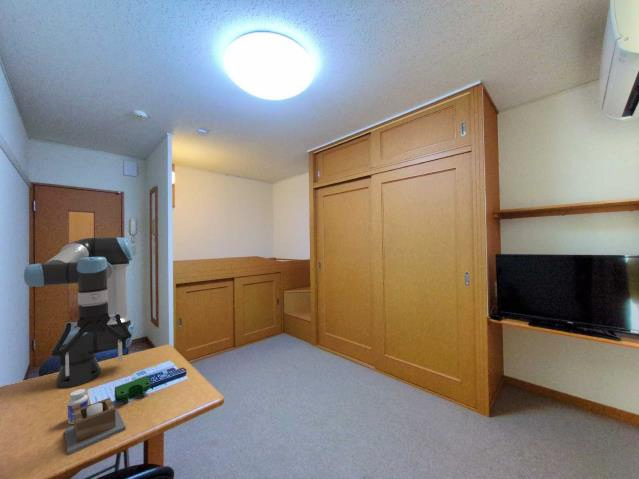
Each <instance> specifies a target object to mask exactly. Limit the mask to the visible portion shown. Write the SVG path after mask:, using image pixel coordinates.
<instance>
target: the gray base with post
mask: <svg viewBox="0 0 639 479" xmlns="http://www.w3.org/2000/svg"><path fill="white" fill-rule="evenodd" d="M95 403H96V402H95ZM92 404H93V403H92ZM90 405H91V404H90ZM100 412H103V410H102V403H96V404H93V405H91V406H89V407H88V408H87V417H90V416H92V415H95V414H97V413H100ZM115 420H116V427H114V428H112V429H109V430H107V431H105V432H102V433H100V434H98V435H95V436H93V437H91V438H88V439H86V440H84V441H81V442H79V443H77V439H76V434H75V429H74V424H72V425H71V426H69V427H66V428H64V436H65V444H66V451H67V455H68V456H70V455H72V454H74V453H76V452H78V451H80V450H82V449H85V448H87V447H89V446H92V445H94V444H97V443H99V442H101V441H103V440H105V439H107V438H110V437H112V436H115V435H116V434H119V433H121V432H123V431H125V430H126V427H127V426H126V424H125V422H124V420H123V419H122V417H121V414H120V412H119V410H118V408H115Z"/></svg>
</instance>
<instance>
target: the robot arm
mask: <svg viewBox="0 0 639 479" xmlns="http://www.w3.org/2000/svg"><path fill="white" fill-rule="evenodd" d="M133 260H134V257H133V250H132V246H131V240H130V239H129V238H127V237H118V236H117V237H87V238H82V239H78V240H75V241H71V242H69V243H67V244H65V245H64V246H63V247H61V249H60V251H59V252H58V253H57V254H56V255H54V256H53V257H52V258H50V259H49V260H47V261H46V262H45V263H44V262H43V263H40V262H39V263H34V264H33V263H32V264H28V265H27V266H26V267H25V269H24V270H23V271H24V272H23V279H24V283H25V285H26V286H28V287H46V286H47V287H49V286H59V285H71V284H77V304H78V319H77V321H66V322H65V326H64V330H63V332H62V333H61V335H60V337H59V338H58V340H57V341H56V343H55V344H54V347H53V348H52V350H51V357H52V356H53V357H55V356H58V357H59V365H60V366H61V367H60V369H59V372H58V374H57V377H56V379H55V380H56V381H55V383H56V384H55V385H56V387H57V388H59V389H60V388H61V389H63V388H73V387H77V386H81V385H84V384H86V383H89V382H93V381H94V380H95V379H97V378H98V377H99V376H100V375H101V373H102V372H101V371H102V368H101V366H100V364H99V362H98V360H97V358H96V354H99V353H105V352H110V351H114V350H115V351H116V350H117V356H118V357H117V359H118V361H120V362H122V361H123V351H124V350H126V348H128V347H130V346H131V344H132V342H133V336H134V328H135V322H134V321H131V318H130V316H128V315H127V274H126V270H127V269H126V268H127V267H128V266H129V265H130V262H131V261H133ZM76 326H77V327H76Z"/></svg>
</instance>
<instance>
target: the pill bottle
mask: <svg viewBox="0 0 639 479" xmlns="http://www.w3.org/2000/svg"><path fill="white" fill-rule="evenodd" d="M69 398H70V399H69V400H68V402H67V423H68V425H74V410H77V409H79V408H82V407H85V406H88V405H89V396H88V395H87V394H86V388H81V389H79V388H78V389H76V390H74V391H71V393H70V397H69Z"/></svg>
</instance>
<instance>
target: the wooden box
mask: <svg viewBox="0 0 639 479" xmlns="http://www.w3.org/2000/svg"><path fill="white" fill-rule="evenodd" d="M96 403H102V410H103V412H100V413H97V414H95V415H92V416H90V417H87V408H88V407H89V406H91V405H93V404H96ZM115 409H116V408H115V406H114V403H113V401H112V399H111V397H107V398H105V399H102V400H100V401H95V402H94V403H90V404H88V406H85V407H82V408H79V409H77V410H74V424H73V425H74V429H75V434H76V439H77V443H79V442H81V441H84V440H86V439H88V438H91V437H93V436H95V435H98V434H100V433H102V432H105V431H107V430H109V429H112V428H114V427H116V420H115Z"/></svg>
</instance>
